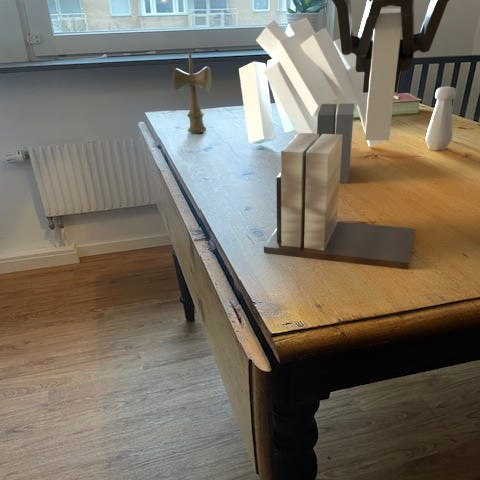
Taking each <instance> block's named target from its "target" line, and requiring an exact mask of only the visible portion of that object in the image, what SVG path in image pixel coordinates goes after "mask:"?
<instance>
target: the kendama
mask: <svg viewBox="0 0 480 480" xmlns="http://www.w3.org/2000/svg"><path fill="white" fill-rule="evenodd" d="M188 69H189V73H187V72H185V71H183V70H181V69H180V68H176V67H175V68H174V69H173V73H172V82H173V88H174V89H175V91H176V92H180V91H182V90H183V89H184V88H186V87H188V86H190V87H189V88H190V101H189V102H190V104H189V112H188V113H187V115H186V116H187V117H188V119H189V127H188V129H187V132H188V133H190V132H191V133H190V134H201V133H200V132H202V133H204V132H206V131H207V127H206V126H205V124H204V121H203V117H204V115H205V113H204V112H203V111H202V109H201V107H200V102H199V98H198V93H197V87H196V86H198V87H200V88H202V89H203V90H204V91H206V92H210V91H211V89H212V73H211V72H212V71H211V69H210V67H209V66H205V67H203V68H202V69H201V70H200V71H198V72H196V73H194V65H193V58H192V53H191V52H189V53H188Z"/></svg>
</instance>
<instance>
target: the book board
mask: <svg viewBox="0 0 480 480" xmlns="http://www.w3.org/2000/svg"><path fill="white" fill-rule="evenodd" d="M342 136H343V135H342V134H336V133H335V134H322V135H321V136H320V137H319V134H317V133H314V132H313V133H299V134H298V135H297V134H296V135H295V137H293V139H292V140H291V141H290V142H289V143H288V144H287V145H286V146H285V147H284V148H283V149H282V150H281V151H280V173H279V174H278V175H277V176H276V179H275V180H276V182H275V183H276V184H275V185H276V189H275V190H276V228H275V230H274V232H273V234H272V235H271V236H270V237H269V239H268V240H267V242H266V243H265V245H264V246H263V253H264V254H271V255H280V256H289V257H298V258H305V259H306V258H307V259H314V260H315V259H316V260H323V261H324V260H325V261H332V262H333V261H334V262H343V263H349V264H351V263H352V264H359V265H368V266H376V267H377V266H378V267H385V268H386V267H387V268H394V269H403V270H409V266H410V260H411V255H412V250H413V243H414V238H415V232H416V228H414V227H413V228H412V227H402V226H393V225H391V226H389V225H381V224H380V225H379V224H370V223H369V224H367V223H357V222H347V221H338V219H339V218H338V217H339V216H338V215H339V199H340V187H341V186H340V185H341V183H340V169H341V153H342Z"/></svg>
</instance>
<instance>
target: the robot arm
mask: <svg viewBox="0 0 480 480" xmlns="http://www.w3.org/2000/svg"><path fill="white" fill-rule="evenodd" d="M331 1H332V3H333V5H334V6H335V8H336V13H337V21H338V31H339V39H340V41H341V50H342V54H344V55H349V54H351V53H354V54H355V55H356V71H357V72H364V83H363V93H368V90H369V80H370V70H371V60H372V47H373V31H374V28H375V24H376V21H377V18H378V17H379V14H380V11H381V9H383V8H386V7H390V6H391V7H397V8H398V7H399V8H400V10H401V17H402V28H401V38H402V39H401V38H400V45H399V54H398V63H397V72H396V81H395V90H394V93H398V87H399V82H400V76H401V72H409V70H410V69H411V64H412V61H414V54H415V53H416V52H420V53H423V54H424V53H427V52H429V51H430V50H431V48H432V46H433V42H434V39H435V37H436V34H437V32H438V28H439V26H440V24H441V21H442V19H443V16H444V13H445V11H446V8H447V5H448V3H449V2H450V0H430V2H429V5H428V8H427V11H426V14H425V17H424V20H423V23H422V26H421V29H420V32H418V33H415V0H367V1H366V5H365V9H364V13H363V16H362V19H361V24H360V28H359V31H358V32H357V36H356V35H354V29H353V27H354V26H353V15H352V14H353V13H352V4H351V3H352V2H351V1H352V0H331Z"/></svg>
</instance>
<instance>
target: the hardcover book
mask: <svg viewBox="0 0 480 480" xmlns="http://www.w3.org/2000/svg"><path fill="white" fill-rule="evenodd" d="M422 101H423V100H422V99H421V98H419V97H417V96H414V95H413V94H410V93H408V92H400V93H394V98H393V107H392V116H391V118H392V117H402V116H403V117H404V116H419V115H421V113H420V112H419V110H420V109H419V108H420V102H422ZM353 120H361V119H360V115H359V112H358V109H357V106H356V107H354V116H353Z"/></svg>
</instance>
